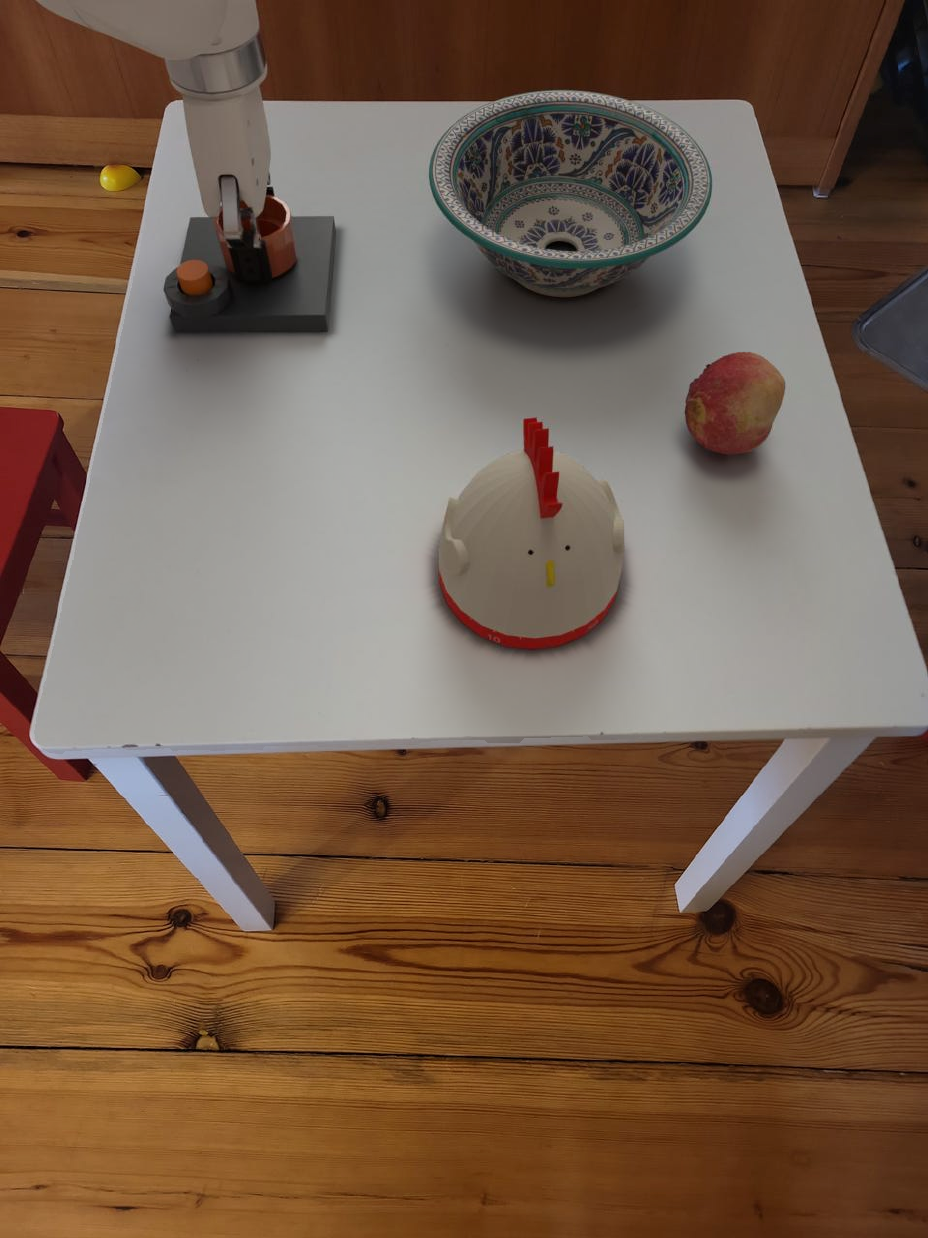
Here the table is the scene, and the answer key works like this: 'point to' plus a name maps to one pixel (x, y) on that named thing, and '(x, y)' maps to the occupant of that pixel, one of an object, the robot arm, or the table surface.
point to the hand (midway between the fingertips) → (259, 251)
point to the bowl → (569, 186)
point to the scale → (257, 285)
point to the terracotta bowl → (267, 235)
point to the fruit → (734, 403)
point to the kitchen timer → (532, 548)
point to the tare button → (194, 278)
